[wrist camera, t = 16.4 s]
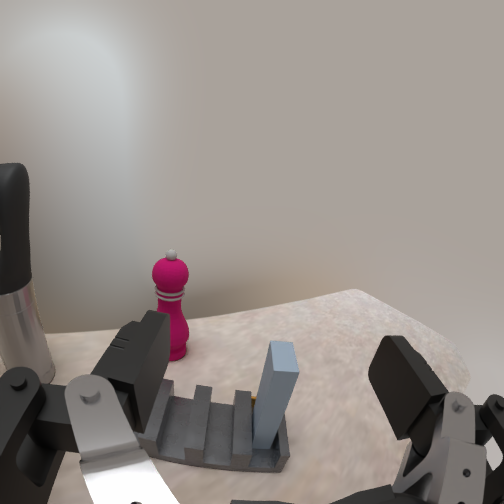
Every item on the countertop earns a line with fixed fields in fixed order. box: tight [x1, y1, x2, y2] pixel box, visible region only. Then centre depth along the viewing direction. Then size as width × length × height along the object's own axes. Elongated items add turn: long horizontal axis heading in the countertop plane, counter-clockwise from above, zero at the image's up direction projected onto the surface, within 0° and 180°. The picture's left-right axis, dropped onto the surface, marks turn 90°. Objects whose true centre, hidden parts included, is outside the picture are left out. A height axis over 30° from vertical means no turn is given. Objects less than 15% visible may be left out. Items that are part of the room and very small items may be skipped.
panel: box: [252, 341, 299, 449], centre depth 29 cm, size 2×5×15 cm, turn 0°
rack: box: [133, 379, 290, 472], centre depth 30 cm, size 22×11×5 cm, turn 90°
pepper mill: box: [152, 249, 189, 361], centre depth 45 cm, size 7×7×20 cm
